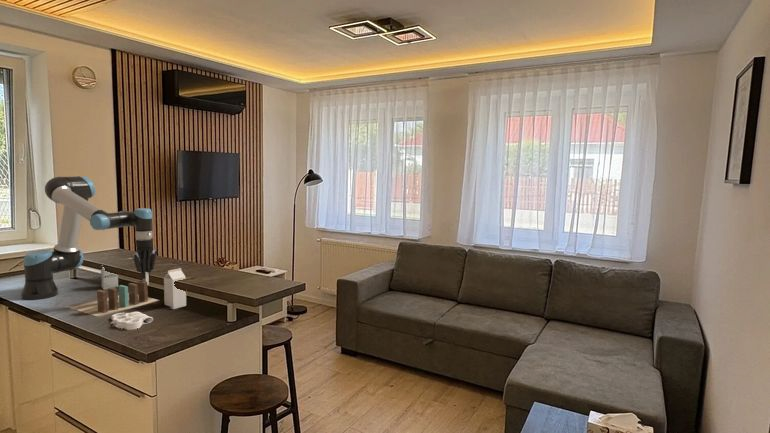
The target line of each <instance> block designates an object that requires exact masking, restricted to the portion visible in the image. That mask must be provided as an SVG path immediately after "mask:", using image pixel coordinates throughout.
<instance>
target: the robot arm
mask: <svg viewBox="0 0 770 433" xmlns="http://www.w3.org/2000/svg"><path fill="white" fill-rule="evenodd" d="M44 193H45V195H46V197H47V198H48V199H49V200H51V201H52V202H54V203H56V204H61V205H63V211H62V217H61V218H62V219H61V224H60V229H59V230H60V231H59V236H58V242H57V243H56V244H55V245H54V247H53V251H52V250H50V249H41V250H36V251H35V250H34V251H31V252H29V253H26V254H25V255H24V257H23V266H24V268H23V269H24V279H25V280H24V281H25V282H24V286H23V289H22V291H21V299H23V300H28V301H29V300H32V301H33V300H41V299H47V298H51V297H55V296H57V295H58V294H59V289H58V286H57V284H56V282H55V280H54V274H57V273H63V272H66V271H72V270H75V269H79V268H80V267H81V266H82V264H83V262H84V259H85V258H84V255H83V253H84V252H83V250H82V249H81V248H80V246H79V245H78V242H79V237H80V232H81V225H82V224H81V223H82V218H84V219H86V220H88V221H89V225H90V226H91V227H92V229H93V230H95V231H105V230H109V229H117V228H125V227H135V231H134V232H135V246H136V250H135V253H132V254H131V257H132V259H133V262H134V265H135V266H134V267H135V268H136V272H137V273H140V275H141V276H140V277H141V279H142V281H145V282H147V286H149V285H150V282H149V281H150V278H149V276H150V277H151V272H152V271H153V270H154V269H155V263H156V258H157V255H158V250H155V249H154V248H153V246H154V240H153V237H154V236H153V235H154V234H153V214H152V213H153V212H152V209H151V208H148V207H147V208H146V207H145V208H143V207H142V208H135V209H134V211H128V210H121V211H118V212H107V211H105V210H103V209H102V208H100V207H99V206H97V205H95V204H93V203H92V202H90V201H89V199H91V198H93V197H94V196H95V194H96V186H95V183H93V181H92V179H90V178H89V177H87V176H55V177H52V178H50V179H49V180H48V181H47V182H46V183H45V185H44Z"/></svg>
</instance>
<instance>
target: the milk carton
mask: <svg viewBox="0 0 770 433" xmlns="http://www.w3.org/2000/svg"><path fill="white" fill-rule="evenodd" d="M183 279H186V275H185V273H184V272H183V270H182V268H181V267H177V268H175V269H169V270H167V273H166V274H165V276H164V277H163V288H164V289H163V292H164V295H163V296H164V297H163V298H164V305H165V306H168V309H172V310H176V309H179V308H183V307H186V306H187V291H186V292H185V291H183V290H180V289H177V288H176V287H175V286H174V285H175V284H174V282H175V281H178V280H183Z"/></svg>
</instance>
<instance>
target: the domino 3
mask: <svg viewBox="0 0 770 433" xmlns="http://www.w3.org/2000/svg"><path fill="white" fill-rule="evenodd" d="M117 289H118V295H119V306H122V307H129V301H128V293H129V286H128V285H123V284H120V285H119V284H118V287H117Z"/></svg>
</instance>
